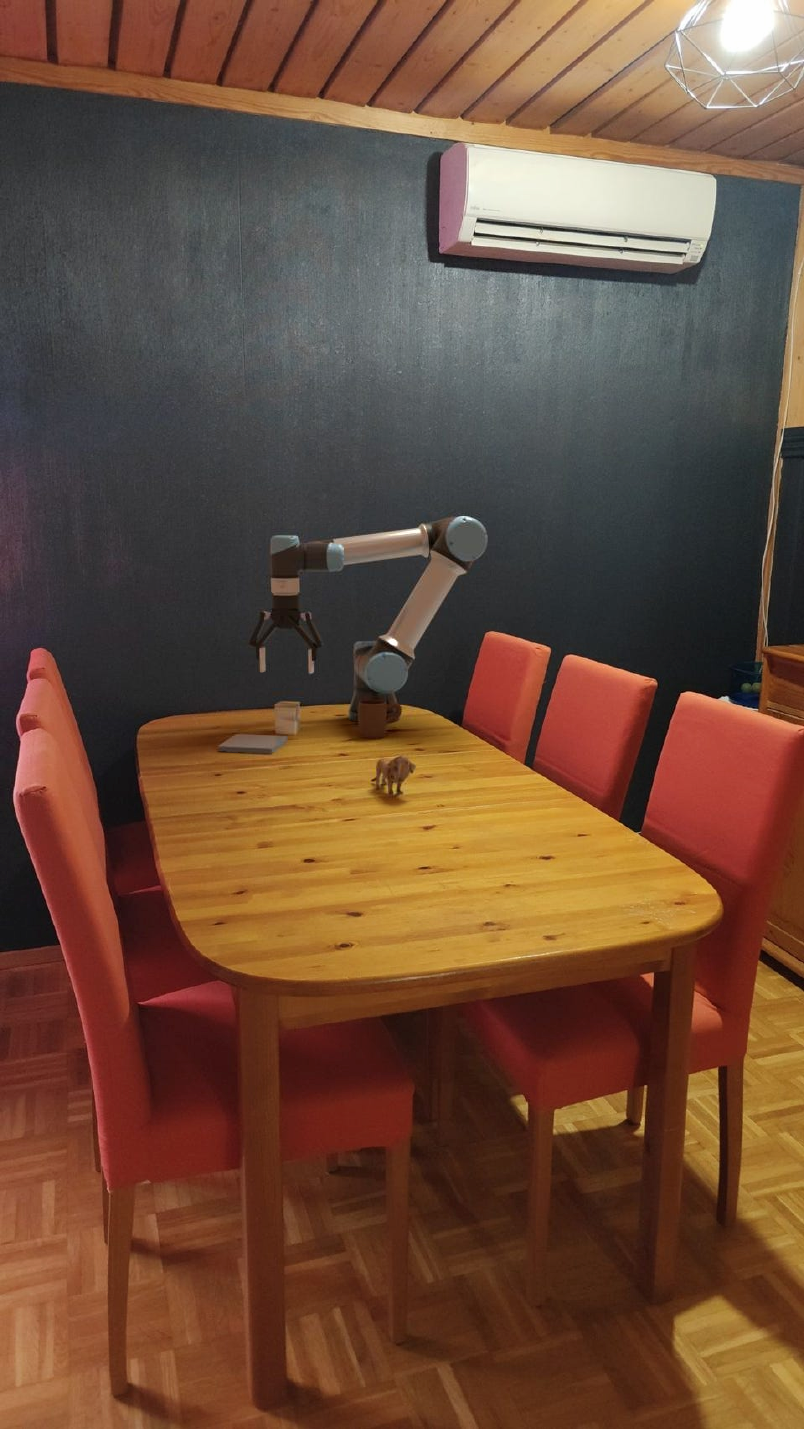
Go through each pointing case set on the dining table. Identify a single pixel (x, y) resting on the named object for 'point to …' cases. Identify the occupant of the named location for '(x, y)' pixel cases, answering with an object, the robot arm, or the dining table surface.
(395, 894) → the dining table surface
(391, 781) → the lion figurine
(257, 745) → the slate board
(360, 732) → the mug
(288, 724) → the oak block
